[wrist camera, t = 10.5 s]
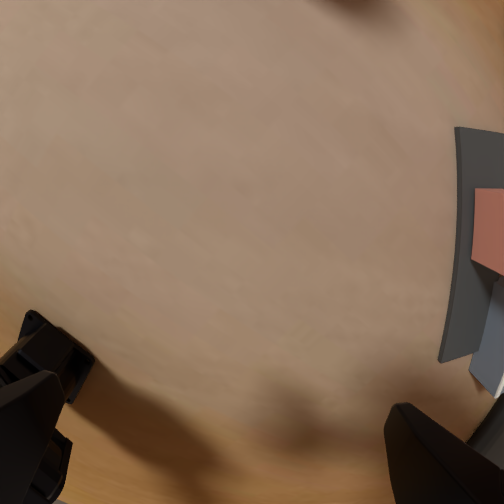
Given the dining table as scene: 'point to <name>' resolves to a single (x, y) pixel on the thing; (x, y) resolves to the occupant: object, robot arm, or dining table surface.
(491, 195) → the stub
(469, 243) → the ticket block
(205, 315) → the dining table surface
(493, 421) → the file folder
